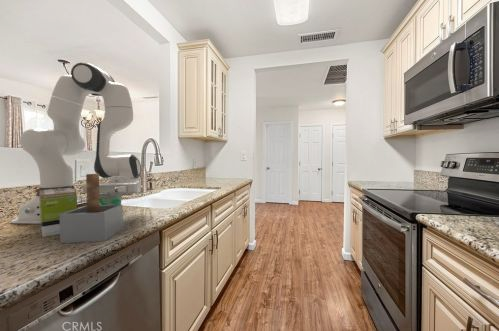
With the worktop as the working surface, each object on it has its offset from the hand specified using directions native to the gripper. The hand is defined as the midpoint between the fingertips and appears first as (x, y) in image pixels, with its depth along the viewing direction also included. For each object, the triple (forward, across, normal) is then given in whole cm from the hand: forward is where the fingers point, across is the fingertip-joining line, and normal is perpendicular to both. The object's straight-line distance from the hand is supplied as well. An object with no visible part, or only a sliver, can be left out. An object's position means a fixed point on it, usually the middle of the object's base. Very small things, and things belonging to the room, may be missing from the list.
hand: (103, 190), depth 83 cm
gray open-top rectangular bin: (+7, 0, +14) cm, 16 cm away
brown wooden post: (+7, 0, +14) cm, 15 cm away
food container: (-28, -9, +15) cm, 33 cm away
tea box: (-2, -17, +15) cm, 23 cm away
